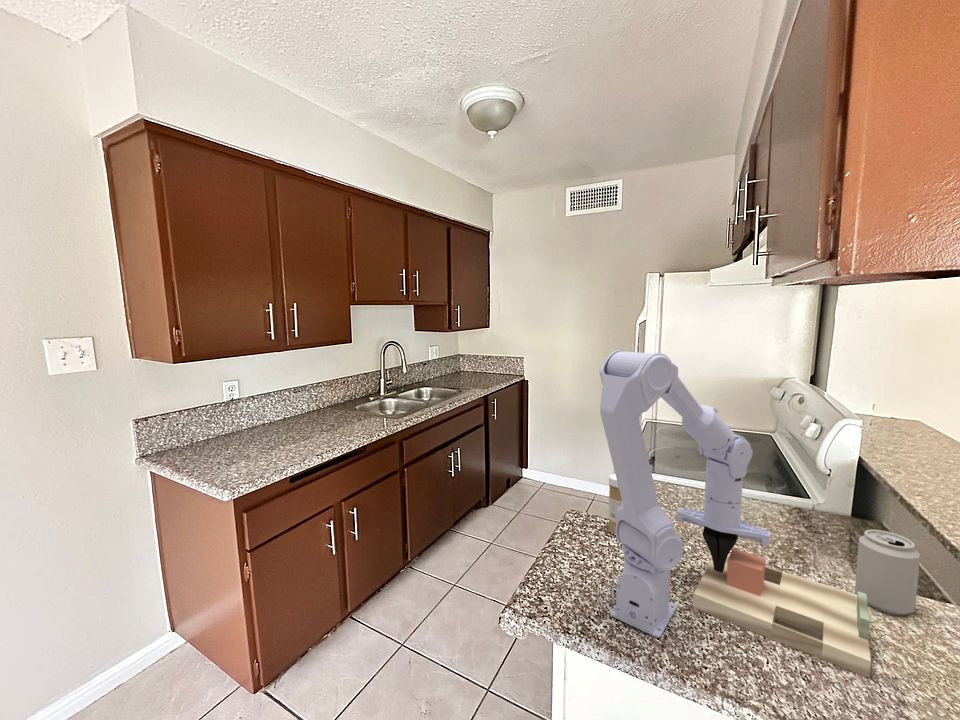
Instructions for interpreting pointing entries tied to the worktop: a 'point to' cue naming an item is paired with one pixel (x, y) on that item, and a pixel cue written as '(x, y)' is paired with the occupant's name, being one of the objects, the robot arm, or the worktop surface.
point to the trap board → (794, 615)
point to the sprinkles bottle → (613, 502)
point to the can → (887, 571)
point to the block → (746, 572)
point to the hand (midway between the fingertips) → (719, 569)
